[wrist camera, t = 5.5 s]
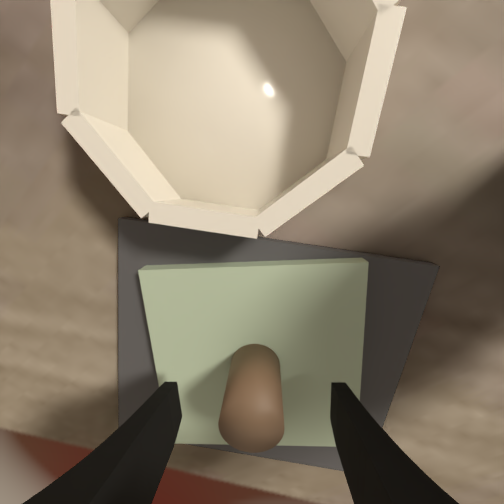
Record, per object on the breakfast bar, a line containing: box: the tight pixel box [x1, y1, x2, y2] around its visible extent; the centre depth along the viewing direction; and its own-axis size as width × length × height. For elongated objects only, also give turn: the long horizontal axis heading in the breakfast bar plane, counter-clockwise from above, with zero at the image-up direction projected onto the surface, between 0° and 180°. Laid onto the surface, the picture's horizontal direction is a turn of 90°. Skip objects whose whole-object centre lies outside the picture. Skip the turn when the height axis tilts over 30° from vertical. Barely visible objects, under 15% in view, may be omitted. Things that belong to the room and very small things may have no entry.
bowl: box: [50, 0, 407, 239], centre depth 9 cm, size 11×11×4 cm
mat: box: [118, 217, 440, 471], centre depth 14 cm, size 16×14×1 cm
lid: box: [138, 258, 369, 453], centre depth 12 cm, size 11×11×4 cm
